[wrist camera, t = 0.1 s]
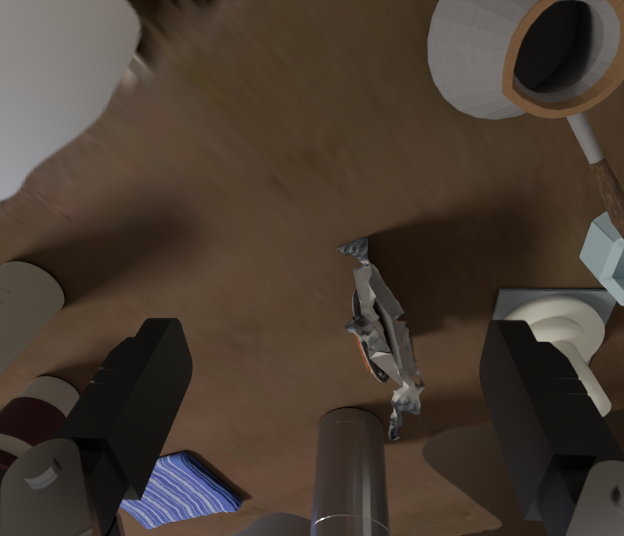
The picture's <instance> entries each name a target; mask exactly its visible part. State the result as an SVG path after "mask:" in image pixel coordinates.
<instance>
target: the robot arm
mask: <svg viewBox="0 0 624 536" xmlns="http://www.w3.org/2000/svg"><path fill="white" fill-rule="evenodd" d="M192 369H193V365H192V358H191V354H190V351H189V348H188V345H187V342H186V338H185V335H184V332H183V329H182V325H181V323H180V321H179V320H178V319H177V318H148V319H147V320H145V322H144V323H143V325H142V326H141V328H140V329H139V331H138V333H137V334H136V336H135V337H127V338H126V339H125V340H124V341H123V342H121V343H120V344H119V345H118V346H117V347H115V348H114V349H113V350H112V351H111V352H110V353H109V355H108V356H107V358H106V359H105V361H104V362H103V364H102V365H101V367H100V371H97V373H96V374H95V376H94V377H93V379H92V380H91V384H90V385H88V386H87V388H86V389H85V390H84V392H83V393H82V395H81V396H80V398H79V399H78V401H77V402H76V404H75V405H74V407H73V408H72V410H71V411H70V413H69V414H68V416H67V417H66V419H65V420H64V422H63V423H62V425H61V426H60V428H59V429H58V431H57V432H56V434H55V435H54V437H53V438H52V439H51V440H47V441H44V442H42V443H39V444H37V445H35V446H33V447H32V448H30V449H29V450H27V451H26V452H24V453H23V454H22V455H21V456H20V457H18V458H17V459H16V460H15V461H14V463H13V464H12V465H11V466H10V467H9V469H7V470H3V471H0V536H125V532H124V528H123V524H122V519H121V516H120V514H119V512H118V509H119V506H120V504H121V502H122V500H138V501H141V498H142V496H143V494H144V491H145V489H146V486H147V484H148V482H149V479H150V477H151V474H152V472H153V470H154V467H155V465H156V462H157V460H158V458H159V455H160V453H161V450H162V448H163V446H164V443H165V441H166V438H167V436H168V434H169V431H170V429H171V426H172V424H173V422H174V419H175V417H176V414H177V412H178V410H179V407H180V405H181V402H182V400H183V398H184V395H185V393H186V390H187V388H188V386H189V383H190V380H191V377H192ZM578 377H579V376H578V374H577V373H576V371H575V369H574V367H573V366H572V364H571V362H570V361H569V359H568V357H566V356H565V355H564V354H563V353H562V352H561V351H560V350H558V349H557V348H556V347H555V346H554V345H553V344H552V343H550V342H543V341H537V340H536V338H535V336H534V334H533V332H532V330H531V328H530V326H529V325H528V323H527V322H526V321H525V320H491V321H490V323H489V326H488V330H487V335H486V339H485V343H484V348H483V352H482V357H481V361H480V382H481V387H482V390H483V393H484V397H485V400H486V403H487V406H488V409H489V412H490V415H491V418H492V421H493V424H494V428H495V431H496V434H497V437H498V440H499V443H500V446H501V449H502V452H503V455H504V459H505V462H506V465H507V468H508V471H509V474H510V477H511V480H512V483H513V486H514V489H515V492H516V496H517V499H518V502H519V505H520V508H521V511H522V514H523V517H524V520H536V521H543V523H544V526H545V528H546V531H547V534H548V536H624V453H623V451H622V450H621V448H620V446H619V445H618V443H617V441H616V439H615V438H614V436H613V435H612V433H611V431H610V429H609V428H608V426H607V424H606V422H605V421H604V419H603V417H602V415H601V414H600V412H599V410H598V409H597V407H596V405H595V403H594V402H593V400H592V398H591V397H590V396H588V391H587V390H586V388H585V386H584V385H583V383H582V381H581V380H579V378H578ZM310 536H390V527H389V512H388V497H387V482H386V467H385V450H384V435H383V426H382V423H381V422H380V420H379V419H378V418H377V417H376V416H375V415H373V414H371V413H369V412H367V411H364V410H360V409H354V408H343V409H337V410H334V411H331V412H329V413H328V414H326V415H325V416H324V417H323V418H322V419H321V421H320V423H319V431H318V444H317V455H316V468H315V481H314V494H313V507H312V520H311V535H310Z"/></svg>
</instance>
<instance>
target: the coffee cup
mask: <svg viewBox="0 0 624 536" xmlns="http://www.w3.org/2000/svg"><path fill="white" fill-rule="evenodd" d="M79 398H80V397H79V394H78V392H77V391H76V389H75V388H74V387H73V386H71V385H70V384H69V383H67V382H65V381H63V380H61V379H58V378H55V377H50V376H41V377H37V378H35V379H34V380H32V381H31V382H30V383H29V384H28V385H27V386H26V387H25V388H24V389H23V390H22V392H21V393H20V394H19V395H18V396H17V397H16V398H15V399H13V400H11V401H10V402H9V403H8V404H7V405H6V406H5V407H4V408H3V409H2V410H1V411H0V471H3V470H7V469H9V467H10V466H11V465H12V464H13V463H14V461H15V460H16V459H17V458H18V457H20V456H21V455H22V454H23V453H24V452H26V451H27V450H29V449H30V448H32V447H33V446H35V445H37V444H39V443H42V442H44V441H47V440H51V439H52V438H53V437H54V435H55V434H56V432H57V431H58V429H59V428H60V426H61V425H62V423H63V422H64V420H65V419H66V417H67V416H68V414H69V413H70V411H71V410H72V408H73V407H74V405H75V404H76V402H77V401H78V399H79Z"/></svg>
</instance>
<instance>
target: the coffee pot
mask: <svg viewBox="0 0 624 536" xmlns="http://www.w3.org/2000/svg"><path fill="white" fill-rule="evenodd" d="M428 64H429V67H430V70H431V74H432V77H433V80H434V83H435V85H436V86H437V88H438V89H439V91H440V92H441V94H442V95H443V97H444V99H446V100H447V101H448V102H449V103H450V104H452V105H453V106H454V107H455V108H456V109H458V110H459V111H461V112H464V113H466V114H469V115H471V116H474V117H476V118H485V119H495V120H498V119H504V118H510V117H516V116H519V115H522V114H524V113H527V112H528V113H530V114H533V115H535V116H537V117H543V118H553V119H555V118H561V117H567V119H568V121H569V123H570V125H571V127H572V129H573V131H574V133H575V135H576V137H577V139H578V141H579V143H580V145H581V147H582V149H583V151H584V153H585V155H586V157H587V159H588V161H589V163H590V164H589V167H590V169H591V172H592V174H593V177H594V179H595V182H596V184H597V187H598V190H599V192H600V195H601V197H602V200H603V202H604V205H605V207H606V210H607V213H608V215H609V218H610V220H611V223H612V224H613V225H614V227H615V228H616V229H617V231H618V232H619V234H620V235H621V237H622V238H623V240H624V192H623V190H622V188H621V186H620V184H619V183H618V181H617V179H616V177H615V175H614V173H613V172H612V170H611V168H610V166H609V164H608V162H607V160H606V159H605V158H603V155H602V153H601V151H600V148H599V146H598V144H597V141H596V139H595V136H594V134H593V132H592V129H591V127H590V125H589V122H588V120H587V118H586V115H585V113H584V111H585V110H588V109H590V108H591V107H593V106H595V105H596V104H598V103H599V102H601V101H602V100H604V99H605V98H606V97H607V96H608V95H610V94H611V93H612V92H613V91H614V90H615V89H616V88H617V87H618V86H619V85H620V84H621V82H622V81H623V80H624V0H439V2H438V4H437V7H436V9H435V11H434V13H433V16H432V20H431V25H430V30H429V35H428Z"/></svg>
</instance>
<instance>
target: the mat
mask: <svg viewBox="0 0 624 536" xmlns="http://www.w3.org/2000/svg"><path fill="white" fill-rule="evenodd" d="M550 295H566V296H572V297H576V298H579V299H581V300H583V301H585V302H587V303H588V304H590V305H591V306H592V307H593V308H594V310H595V311H596V312H597V313H598V315H599V316H600V317H601V319H602V321H603V323H604V327H605V326H606V324H607V321H608V319H609V317H610V315H611V312H612V310H613V308H614V306H615V303H616V301H617V300H616V299H615V298H614V297H613V296H612V295H611V294H610V293H609V292H608V290H607V289H499V291H498V296H497V300H496V304H495V308H494V312H493V316H492V320H502V319H503V317H504V316H505V315H506V314H507V313H509V312H510V311H511V310H512V309H514V308H515V307H517V306H519V305H521V304H522V303H525V302H527V301H529V300H532V299H535V298H539V297H543V296H550ZM591 358H592V356H591V357H590V358H589V360H588V361H587V362H586V364H587V365H588V364H589V362H590V360H591Z"/></svg>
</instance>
